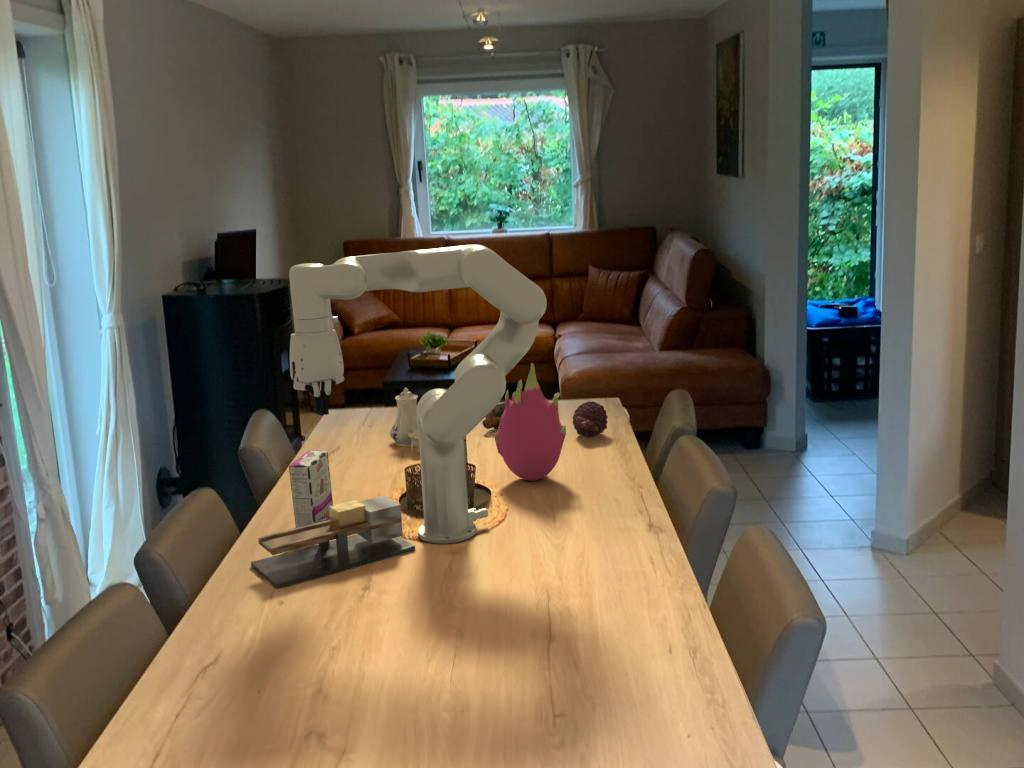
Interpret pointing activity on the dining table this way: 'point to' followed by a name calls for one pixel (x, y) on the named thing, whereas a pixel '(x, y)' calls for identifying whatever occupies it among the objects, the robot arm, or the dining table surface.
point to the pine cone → (590, 419)
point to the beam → (378, 528)
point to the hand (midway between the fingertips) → (322, 413)
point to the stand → (327, 558)
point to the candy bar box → (311, 488)
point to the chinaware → (406, 421)
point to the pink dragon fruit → (530, 431)
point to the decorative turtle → (494, 417)
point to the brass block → (347, 514)
